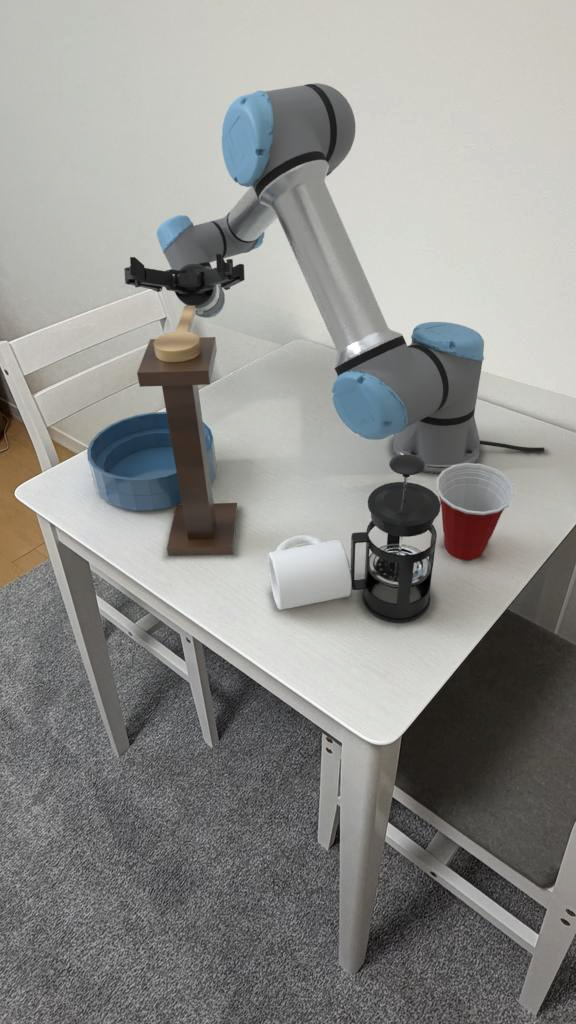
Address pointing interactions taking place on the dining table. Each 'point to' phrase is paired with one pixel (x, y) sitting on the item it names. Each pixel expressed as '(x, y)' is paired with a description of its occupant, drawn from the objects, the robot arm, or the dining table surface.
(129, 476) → the bowl
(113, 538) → the dining table surface
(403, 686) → the dining table surface
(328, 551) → the mug
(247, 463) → the dining table surface
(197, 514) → the stand
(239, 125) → the robot arm
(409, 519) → the french press
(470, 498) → the plastic cup
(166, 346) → the spoon
